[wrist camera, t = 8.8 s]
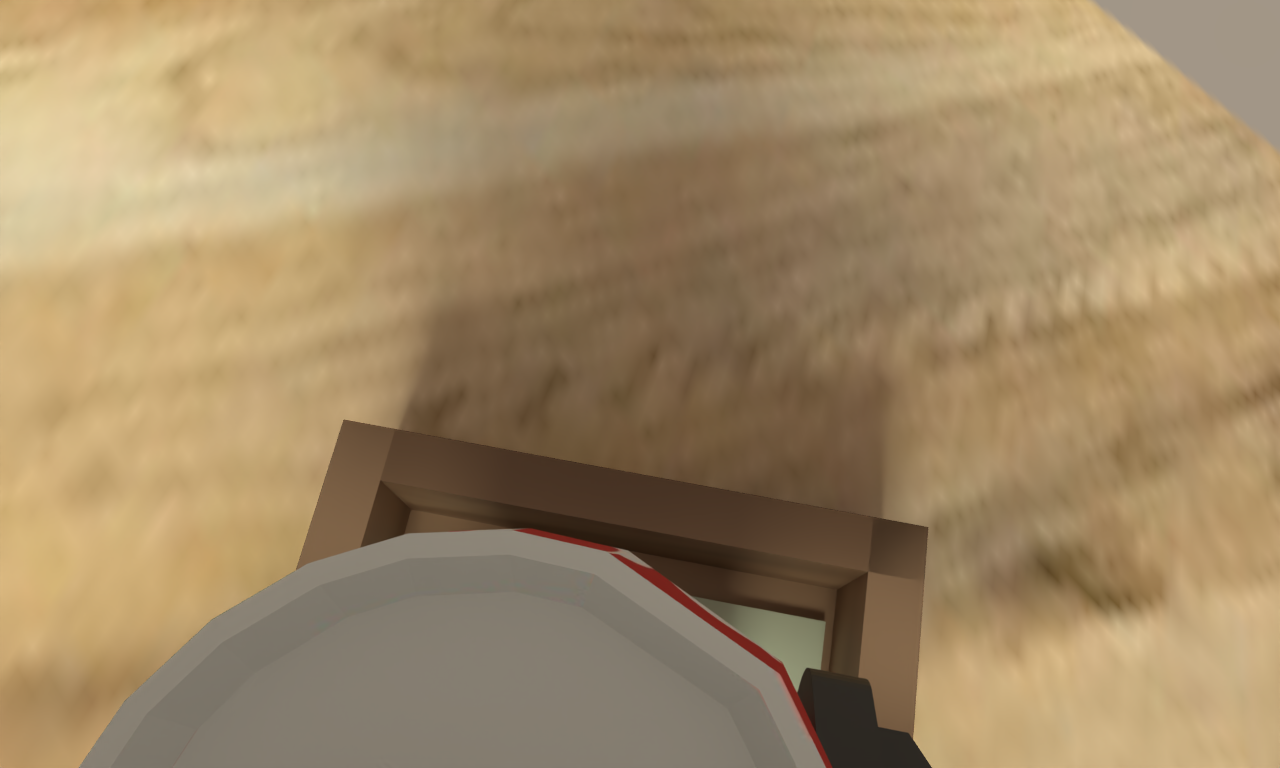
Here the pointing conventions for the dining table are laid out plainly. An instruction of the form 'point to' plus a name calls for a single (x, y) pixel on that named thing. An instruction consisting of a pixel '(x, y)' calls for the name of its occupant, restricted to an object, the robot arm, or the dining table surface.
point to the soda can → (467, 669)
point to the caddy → (659, 545)
